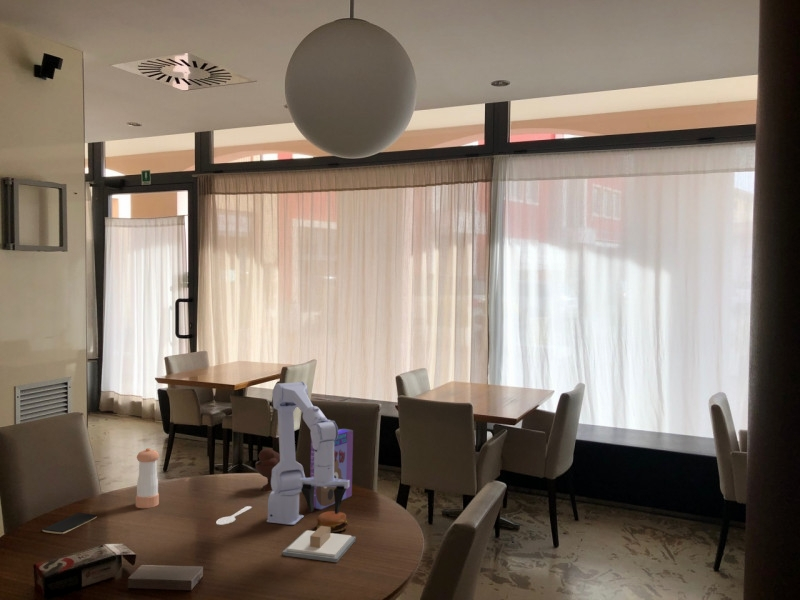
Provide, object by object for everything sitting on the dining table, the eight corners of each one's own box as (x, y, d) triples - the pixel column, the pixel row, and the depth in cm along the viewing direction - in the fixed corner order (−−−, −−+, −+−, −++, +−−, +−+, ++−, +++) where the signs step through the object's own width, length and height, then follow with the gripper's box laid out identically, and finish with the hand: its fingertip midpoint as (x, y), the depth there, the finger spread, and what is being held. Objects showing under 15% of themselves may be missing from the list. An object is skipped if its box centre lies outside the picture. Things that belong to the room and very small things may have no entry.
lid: (287, 550, 173) (287, 537, 173) (307, 532, 186) (307, 520, 186) (334, 556, 169) (335, 543, 169) (351, 537, 183) (351, 525, 183)
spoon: (257, 508, 210) (257, 506, 210) (225, 526, 193) (226, 525, 193) (243, 506, 212) (243, 505, 212) (211, 524, 195) (211, 522, 195)
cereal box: (320, 510, 209) (322, 438, 209) (309, 507, 211) (311, 436, 211) (351, 496, 224) (353, 429, 223) (341, 493, 226) (342, 427, 226)
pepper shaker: (163, 503, 212) (164, 447, 212) (144, 509, 206) (145, 452, 205) (149, 499, 216) (150, 444, 216) (130, 505, 210) (131, 448, 209)
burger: (311, 526, 194) (311, 511, 194) (337, 520, 200) (337, 506, 200) (326, 537, 186) (326, 521, 186) (353, 530, 192) (353, 515, 191)
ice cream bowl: (278, 493, 225) (279, 452, 225) (249, 491, 227) (250, 450, 227) (289, 485, 235) (290, 445, 235) (261, 482, 237) (262, 443, 237)
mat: (282, 555, 172) (282, 551, 172) (305, 533, 188) (305, 530, 188) (336, 562, 168) (337, 558, 168) (355, 540, 184) (355, 536, 184)
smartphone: (97, 514, 199) (62, 531, 184) (97, 518, 199) (62, 535, 184) (78, 512, 200) (41, 529, 186) (78, 515, 200) (41, 532, 186)
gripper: (295, 466, 176) (295, 514, 175) (344, 468, 173) (344, 518, 173) (303, 460, 183) (303, 507, 182) (351, 462, 180) (351, 510, 180)
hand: (324, 511), depth 178 cm, fingers open, 7 cm apart
